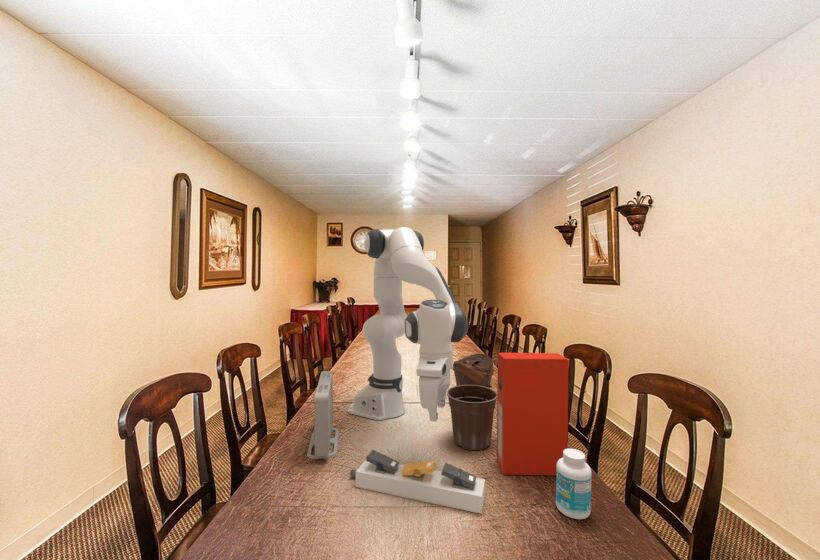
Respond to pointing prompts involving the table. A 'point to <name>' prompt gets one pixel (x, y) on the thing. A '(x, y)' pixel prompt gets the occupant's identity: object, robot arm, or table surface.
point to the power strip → (421, 487)
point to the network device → (323, 419)
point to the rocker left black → (382, 461)
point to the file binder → (531, 412)
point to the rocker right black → (459, 476)
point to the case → (474, 370)
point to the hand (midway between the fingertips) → (437, 413)
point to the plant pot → (472, 415)
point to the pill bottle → (573, 485)
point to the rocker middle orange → (418, 468)
